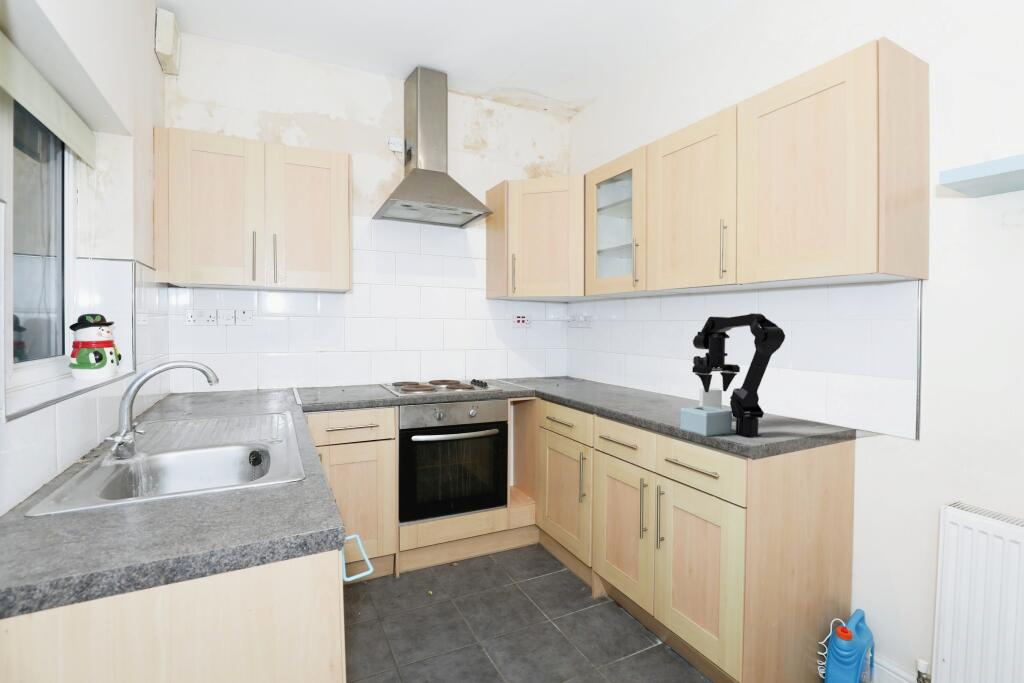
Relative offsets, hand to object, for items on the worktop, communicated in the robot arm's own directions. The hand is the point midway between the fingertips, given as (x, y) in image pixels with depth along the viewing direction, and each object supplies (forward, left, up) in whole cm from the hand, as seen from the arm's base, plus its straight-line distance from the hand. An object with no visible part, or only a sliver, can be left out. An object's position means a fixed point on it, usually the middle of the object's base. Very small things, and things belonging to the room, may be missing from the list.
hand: (715, 391), depth 191 cm
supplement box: (+10, -8, -13) cm, 18 cm away
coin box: (-6, +11, -13) cm, 18 cm away
